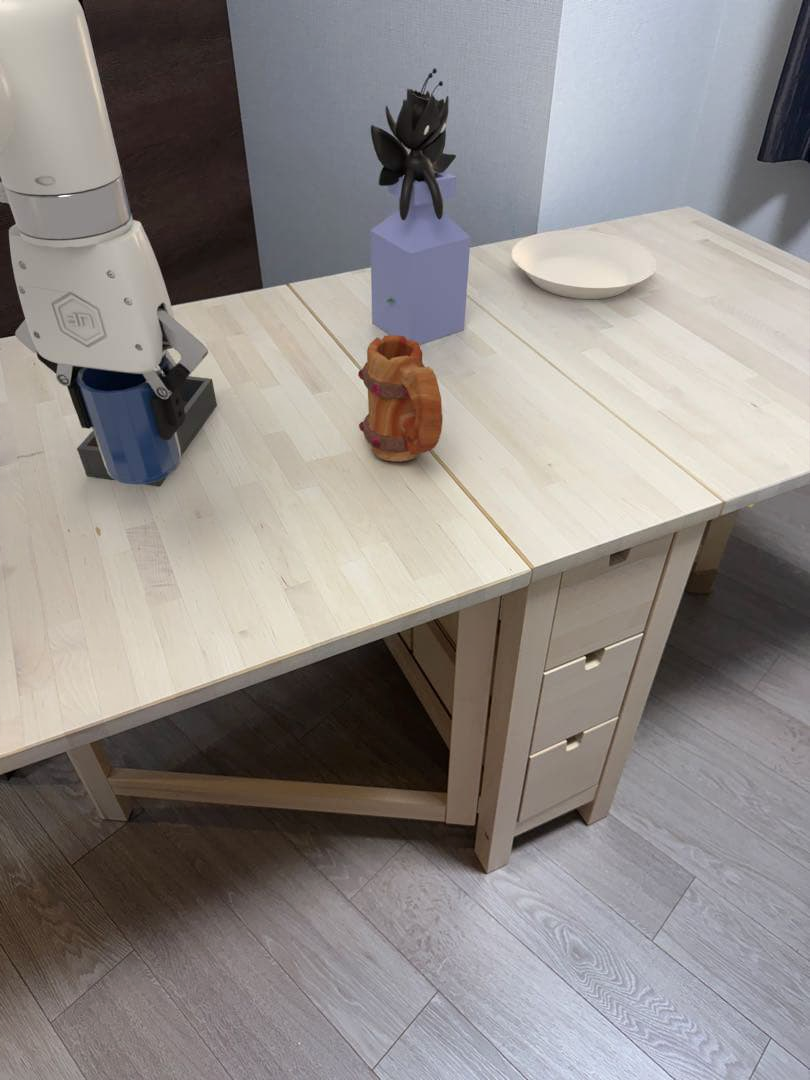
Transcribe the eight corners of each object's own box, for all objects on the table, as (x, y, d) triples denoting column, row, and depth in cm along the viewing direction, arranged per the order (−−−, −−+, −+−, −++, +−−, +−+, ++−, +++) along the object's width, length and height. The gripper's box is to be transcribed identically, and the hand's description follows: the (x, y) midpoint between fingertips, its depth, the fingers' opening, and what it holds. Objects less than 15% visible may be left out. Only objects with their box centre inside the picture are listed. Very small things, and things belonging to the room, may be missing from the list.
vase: (397, 357, 111) (399, 89, 87) (356, 327, 118) (347, 70, 94) (472, 332, 117) (492, 74, 93) (429, 304, 124) (437, 58, 100)
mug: (351, 437, 96) (346, 329, 85) (408, 422, 98) (410, 316, 88) (398, 504, 86) (399, 392, 76) (460, 486, 89) (469, 375, 78)
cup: (92, 478, 64) (61, 387, 58) (128, 436, 68) (102, 348, 62) (161, 489, 63) (136, 398, 57) (193, 446, 68) (173, 357, 61)
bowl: (501, 299, 126) (503, 279, 123) (517, 243, 143) (520, 224, 141) (652, 316, 122) (658, 295, 119) (650, 256, 140) (655, 237, 137)
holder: (86, 476, 89) (76, 448, 86) (152, 397, 102) (145, 370, 99) (159, 486, 88) (152, 458, 85) (217, 405, 101) (212, 378, 98)
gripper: (-77, 214, 49) (16, 436, 62) (164, 238, 47) (212, 465, 59) (-9, 178, 55) (65, 389, 67) (212, 198, 52) (246, 414, 64)
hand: (133, 423), depth 63 cm, fingers closed on cup, 6 cm apart
